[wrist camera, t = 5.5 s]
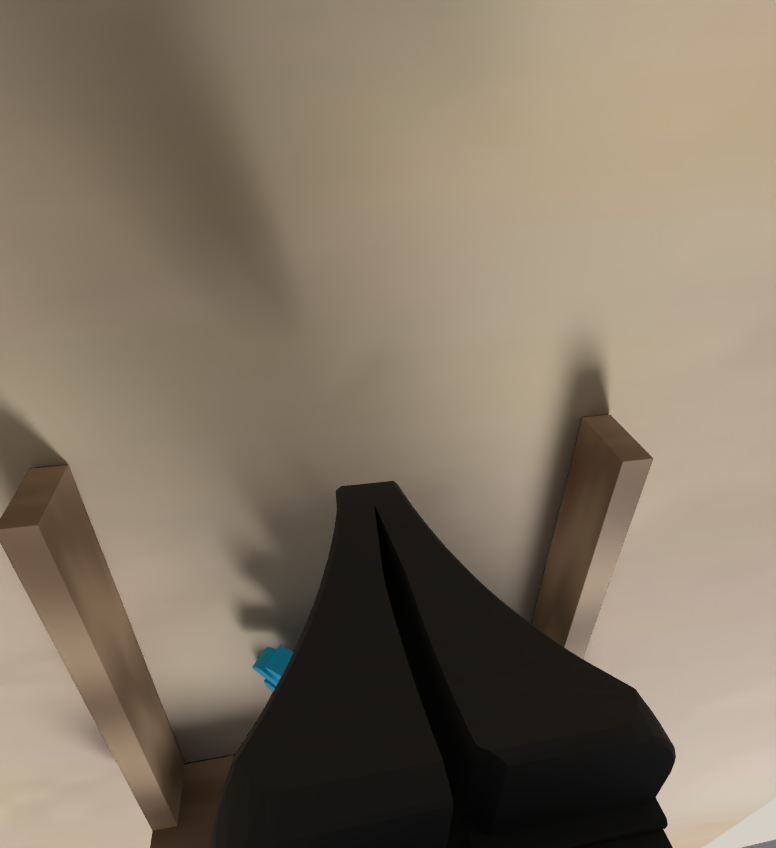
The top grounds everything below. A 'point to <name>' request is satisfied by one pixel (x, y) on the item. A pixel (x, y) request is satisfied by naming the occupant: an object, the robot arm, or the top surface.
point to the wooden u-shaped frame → (126, 669)
